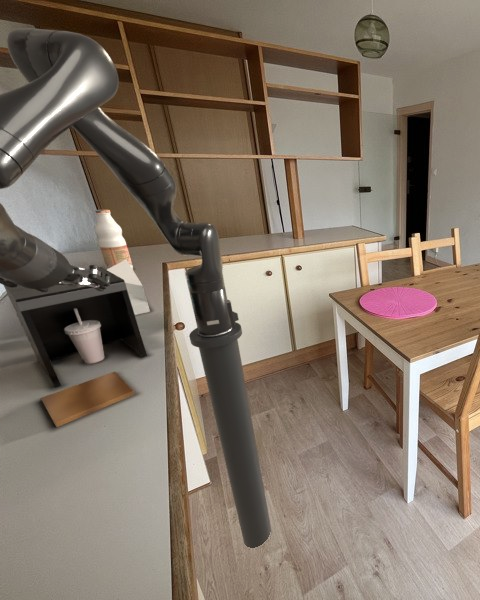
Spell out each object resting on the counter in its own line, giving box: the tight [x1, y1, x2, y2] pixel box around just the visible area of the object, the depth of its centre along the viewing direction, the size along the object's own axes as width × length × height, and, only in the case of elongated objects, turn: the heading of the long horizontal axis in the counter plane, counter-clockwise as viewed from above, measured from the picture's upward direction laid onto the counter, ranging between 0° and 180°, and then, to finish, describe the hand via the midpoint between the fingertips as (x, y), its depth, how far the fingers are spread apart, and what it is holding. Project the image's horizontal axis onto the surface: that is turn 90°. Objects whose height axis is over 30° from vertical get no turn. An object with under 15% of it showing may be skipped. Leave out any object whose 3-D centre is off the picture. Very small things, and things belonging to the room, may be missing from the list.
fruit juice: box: [94, 209, 134, 270], centre depth 144 cm, size 9×9×28 cm
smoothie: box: [64, 308, 106, 364], centre depth 77 cm, size 6×6×14 cm
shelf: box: [3, 266, 148, 389], centre depth 76 cm, size 17×17×21 cm
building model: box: [106, 260, 151, 316], centre depth 113 cm, size 45×22×10 cm, turn 44°
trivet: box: [40, 371, 136, 428], centre depth 66 cm, size 12×12×1 cm
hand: (74, 287), depth 64 cm, fingers open, 8 cm apart
